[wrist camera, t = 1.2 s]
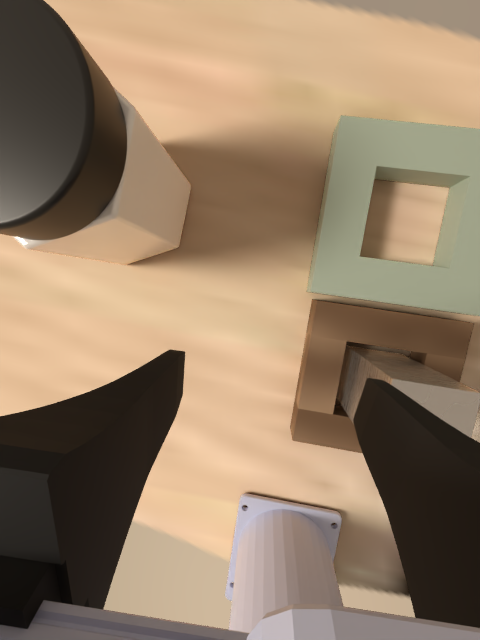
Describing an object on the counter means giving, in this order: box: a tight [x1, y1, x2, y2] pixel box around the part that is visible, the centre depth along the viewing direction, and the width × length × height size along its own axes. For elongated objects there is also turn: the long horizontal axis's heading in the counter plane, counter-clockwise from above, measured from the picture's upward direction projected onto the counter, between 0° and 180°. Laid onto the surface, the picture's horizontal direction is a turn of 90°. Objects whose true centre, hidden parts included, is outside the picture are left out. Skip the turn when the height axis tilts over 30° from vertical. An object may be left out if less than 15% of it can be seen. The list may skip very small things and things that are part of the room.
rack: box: [307, 115, 480, 316], centre depth 19 cm, size 11×11×2 cm
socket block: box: [290, 299, 474, 453], centre depth 20 cm, size 10×10×2 cm
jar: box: [0, 0, 191, 265], centre depth 16 cm, size 9×8×12 cm
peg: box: [336, 345, 480, 438], centre depth 18 cm, size 4×4×8 cm
